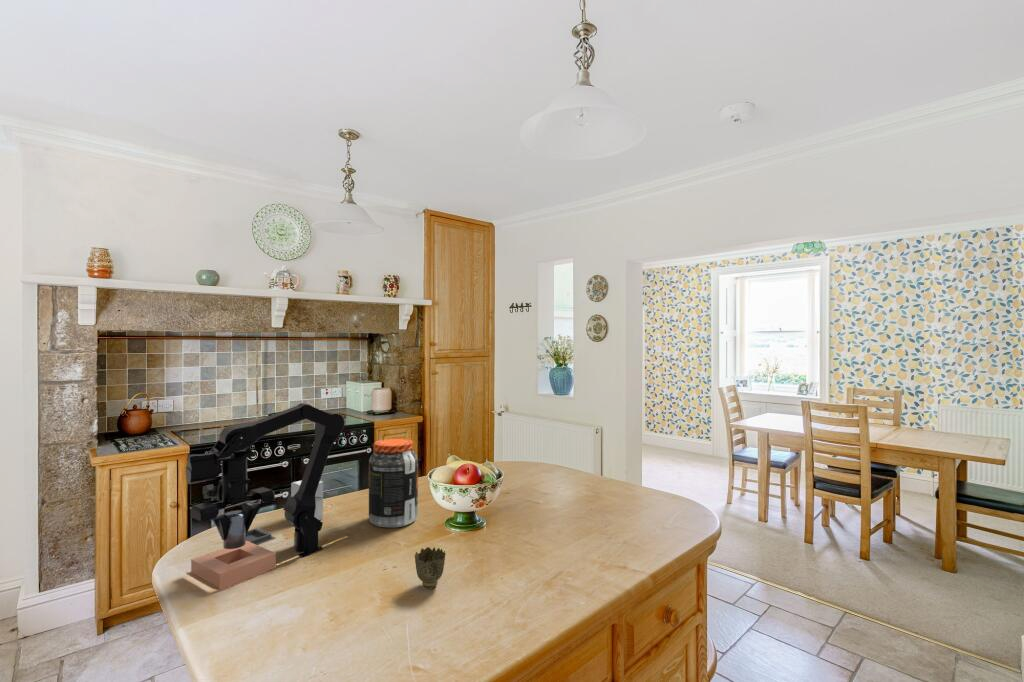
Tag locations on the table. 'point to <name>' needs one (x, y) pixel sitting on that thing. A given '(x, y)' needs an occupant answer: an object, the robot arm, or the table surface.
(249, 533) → the stand
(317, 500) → the supplement box
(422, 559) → the cup
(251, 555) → the hub block
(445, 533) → the table surface
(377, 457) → the supplement tub
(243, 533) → the steel peg
